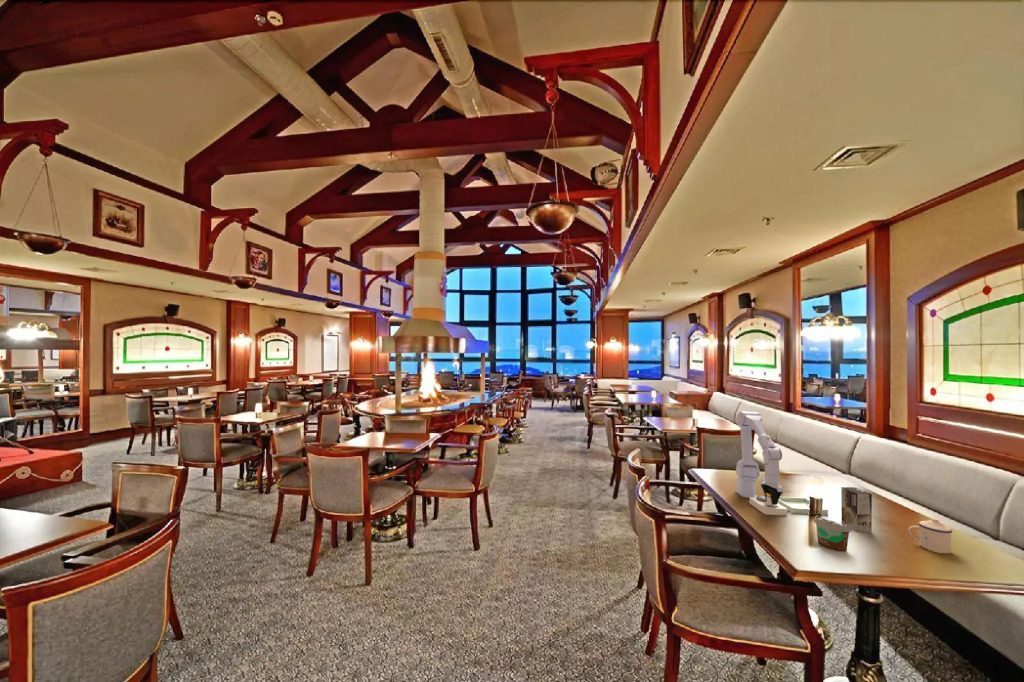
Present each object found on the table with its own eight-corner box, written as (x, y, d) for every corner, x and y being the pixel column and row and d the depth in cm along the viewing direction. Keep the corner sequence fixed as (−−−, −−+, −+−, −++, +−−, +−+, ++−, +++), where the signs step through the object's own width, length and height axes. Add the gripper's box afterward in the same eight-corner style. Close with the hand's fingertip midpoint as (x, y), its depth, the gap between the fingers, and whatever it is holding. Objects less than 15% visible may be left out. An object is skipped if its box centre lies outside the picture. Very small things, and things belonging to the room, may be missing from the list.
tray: (772, 501, 210) (772, 496, 210) (805, 502, 209) (805, 497, 209) (792, 513, 194) (792, 508, 194) (827, 515, 193) (827, 509, 193)
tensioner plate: (749, 503, 206) (749, 495, 206) (770, 504, 205) (770, 496, 205) (765, 514, 192) (765, 505, 192) (787, 515, 191) (787, 506, 191)
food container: (806, 541, 165) (806, 515, 165) (816, 538, 167) (816, 513, 167) (840, 555, 153) (840, 528, 154) (851, 553, 156) (851, 526, 156)
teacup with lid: (950, 549, 161) (950, 519, 162) (953, 557, 155) (953, 526, 155) (908, 539, 169) (908, 510, 170) (908, 546, 163) (909, 516, 163)
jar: (763, 509, 198) (763, 491, 198) (773, 510, 198) (773, 492, 198) (769, 513, 193) (769, 495, 193) (779, 513, 193) (779, 495, 193)
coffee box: (872, 532, 175) (872, 494, 176) (857, 531, 175) (857, 493, 176) (855, 523, 184) (855, 486, 185) (840, 522, 184) (840, 486, 185)
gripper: (755, 468, 203) (754, 496, 203) (771, 477, 189) (771, 507, 188) (769, 469, 203) (769, 497, 203) (787, 478, 188) (787, 508, 188)
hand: (771, 502), depth 195 cm, fingers closed on jar, 4 cm apart
